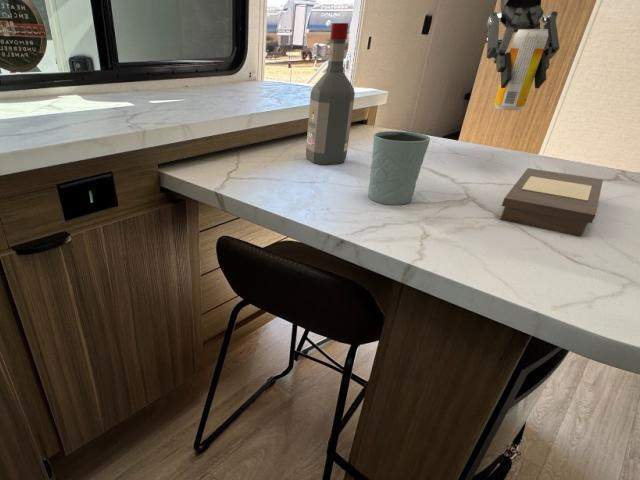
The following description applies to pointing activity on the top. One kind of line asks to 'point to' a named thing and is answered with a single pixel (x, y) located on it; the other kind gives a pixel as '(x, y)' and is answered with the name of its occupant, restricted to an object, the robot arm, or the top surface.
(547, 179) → the brown lidded keepsake box
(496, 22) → the robot arm
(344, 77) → the liquor
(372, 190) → the green embossed cup
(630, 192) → the top surface
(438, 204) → the top surface
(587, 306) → the top surface
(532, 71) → the beer can
